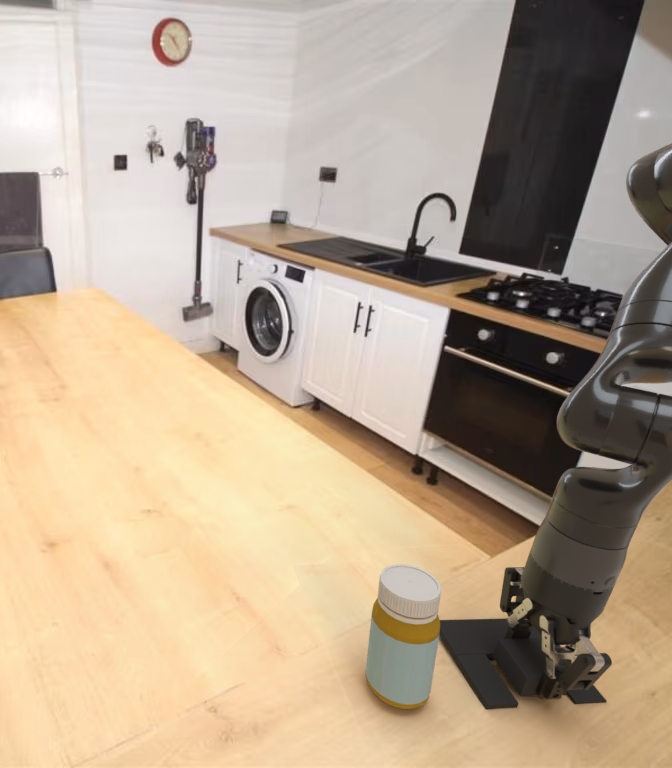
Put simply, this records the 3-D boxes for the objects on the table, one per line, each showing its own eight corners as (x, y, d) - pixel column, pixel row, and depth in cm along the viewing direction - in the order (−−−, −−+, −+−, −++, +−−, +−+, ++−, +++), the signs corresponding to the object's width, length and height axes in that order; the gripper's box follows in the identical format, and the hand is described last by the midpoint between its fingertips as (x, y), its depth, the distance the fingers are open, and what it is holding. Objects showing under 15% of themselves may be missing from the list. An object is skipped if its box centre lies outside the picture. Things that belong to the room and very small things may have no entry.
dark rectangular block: (534, 655, 67) (541, 637, 66) (565, 695, 62) (573, 677, 61) (491, 656, 67) (497, 638, 66) (519, 696, 62) (526, 678, 61)
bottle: (380, 653, 69) (392, 553, 64) (438, 685, 64) (455, 580, 59) (354, 687, 64) (364, 583, 59) (414, 724, 59) (431, 614, 54)
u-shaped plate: (534, 623, 73) (536, 617, 73) (604, 707, 62) (607, 701, 62) (432, 625, 73) (434, 619, 72) (485, 710, 62) (487, 704, 61)
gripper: (497, 519, 64) (464, 624, 71) (590, 615, 51) (538, 733, 58) (559, 518, 64) (520, 623, 71) (667, 613, 51) (606, 731, 58)
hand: (528, 672), depth 64 cm, fingers closed on dark rectangular block, 5 cm apart
